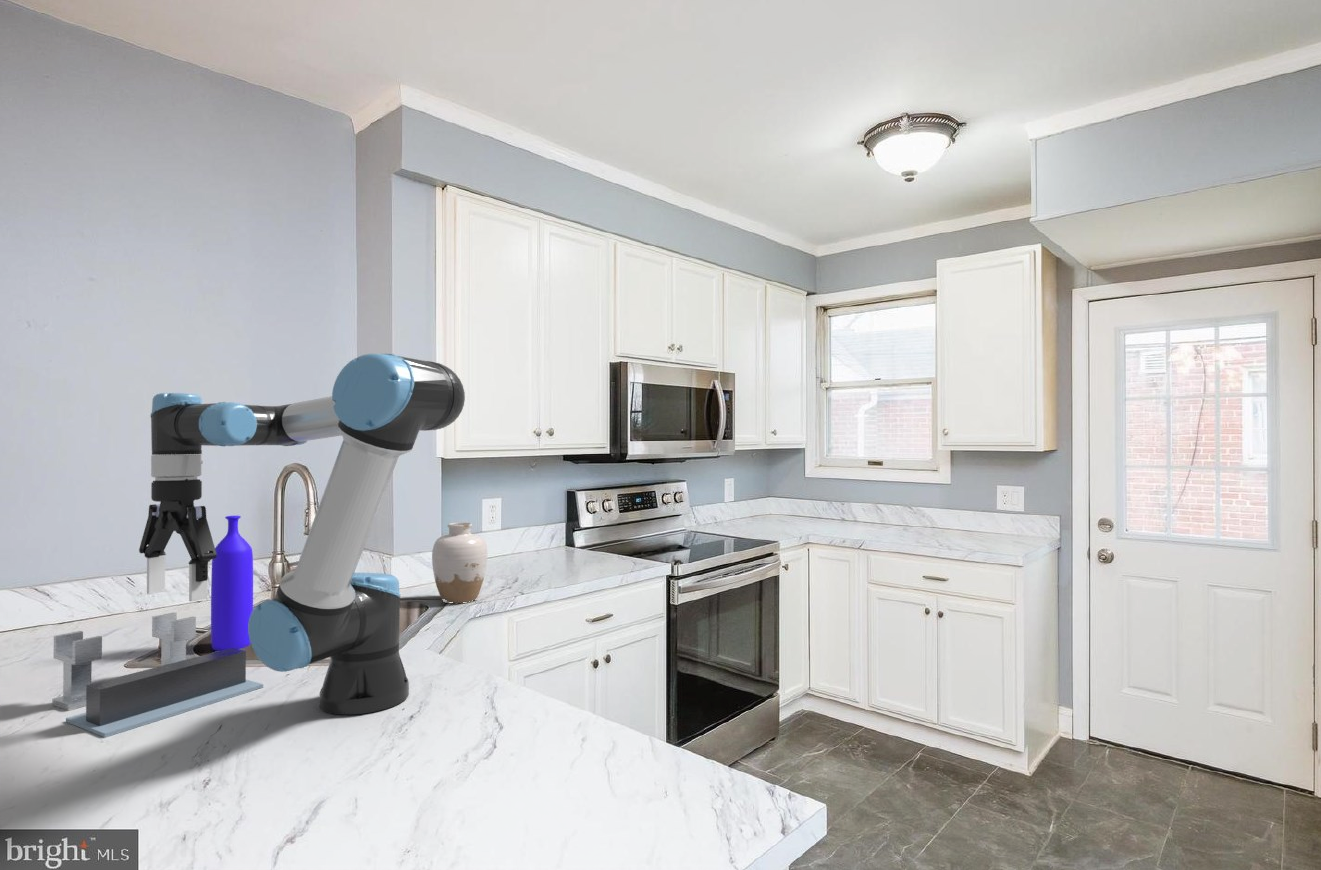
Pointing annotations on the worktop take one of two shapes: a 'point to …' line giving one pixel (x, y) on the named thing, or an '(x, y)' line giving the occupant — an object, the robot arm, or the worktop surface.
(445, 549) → the vase
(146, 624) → the worktop surface
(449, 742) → the worktop surface
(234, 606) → the bottle
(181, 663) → the rail
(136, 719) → the mat
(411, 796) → the worktop surface
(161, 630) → the standards
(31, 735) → the worktop surface
